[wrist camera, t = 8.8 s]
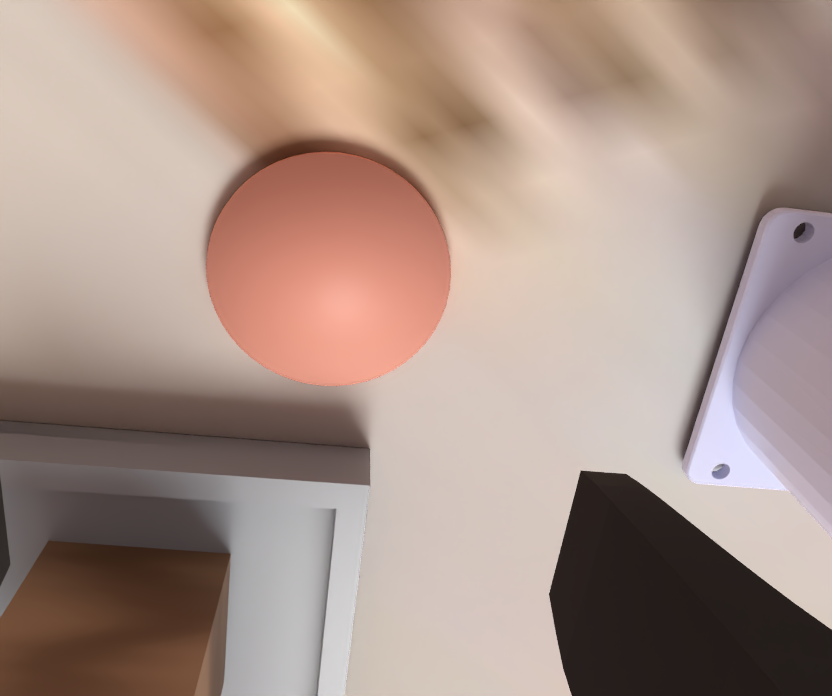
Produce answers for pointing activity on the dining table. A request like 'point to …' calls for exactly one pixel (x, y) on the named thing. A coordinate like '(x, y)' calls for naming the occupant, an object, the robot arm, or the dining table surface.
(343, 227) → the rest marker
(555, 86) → the dining table surface
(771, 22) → the dining table surface
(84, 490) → the slate tray
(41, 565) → the walnut block
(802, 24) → the dining table surface
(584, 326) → the dining table surface
